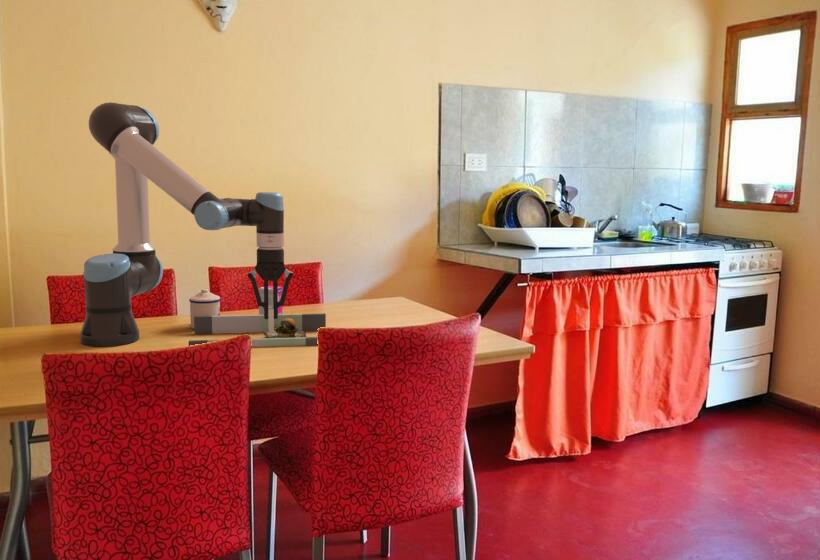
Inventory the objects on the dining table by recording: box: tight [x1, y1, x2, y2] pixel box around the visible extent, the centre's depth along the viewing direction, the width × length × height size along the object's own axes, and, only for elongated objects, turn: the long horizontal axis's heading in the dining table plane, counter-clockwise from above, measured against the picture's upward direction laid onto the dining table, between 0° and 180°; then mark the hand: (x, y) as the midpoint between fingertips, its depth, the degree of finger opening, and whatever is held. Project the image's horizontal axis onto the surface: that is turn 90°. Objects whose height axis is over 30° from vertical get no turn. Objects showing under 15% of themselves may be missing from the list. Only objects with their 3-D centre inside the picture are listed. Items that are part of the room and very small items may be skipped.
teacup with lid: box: [188, 288, 221, 330], centre depth 218 cm, size 12×9×12 cm
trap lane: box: [188, 312, 327, 348], centre depth 204 cm, size 38×18×5 cm, turn 102°
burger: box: [263, 312, 307, 338], centre depth 205 cm, size 12×12×8 cm
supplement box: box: [258, 285, 283, 315], centre depth 224 cm, size 6×6×12 cm
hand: (271, 330), depth 205 cm, fingers closed
